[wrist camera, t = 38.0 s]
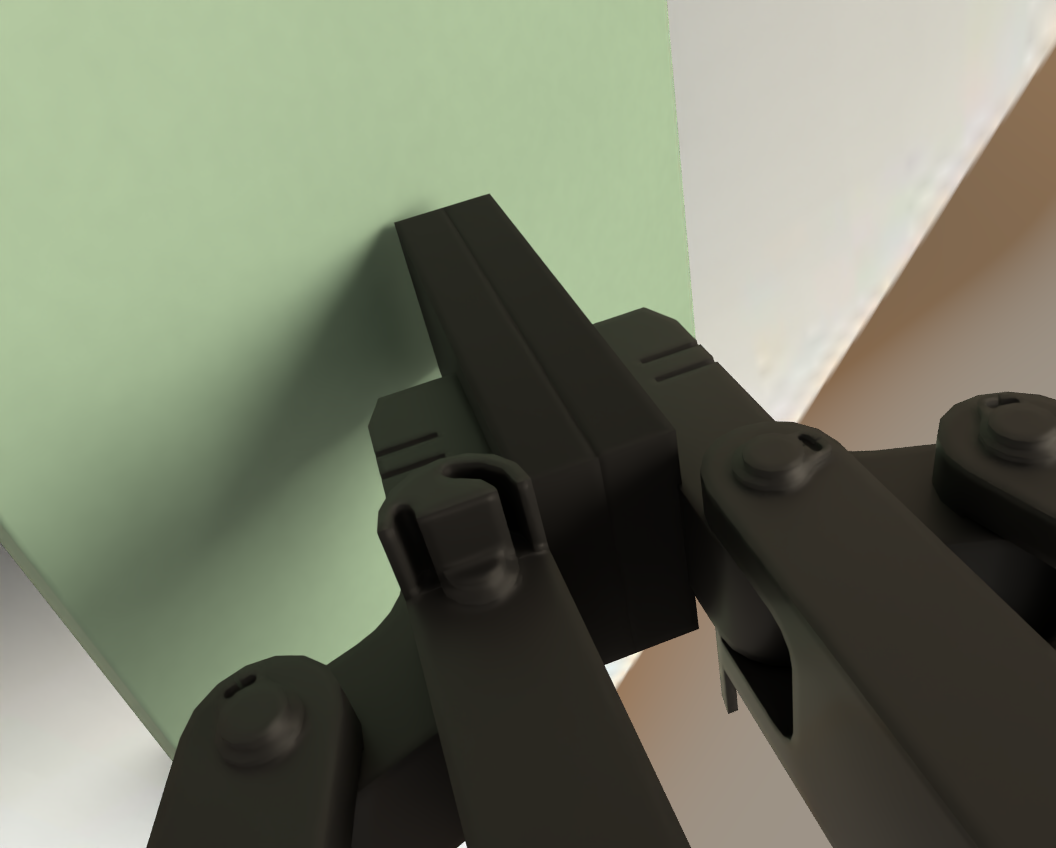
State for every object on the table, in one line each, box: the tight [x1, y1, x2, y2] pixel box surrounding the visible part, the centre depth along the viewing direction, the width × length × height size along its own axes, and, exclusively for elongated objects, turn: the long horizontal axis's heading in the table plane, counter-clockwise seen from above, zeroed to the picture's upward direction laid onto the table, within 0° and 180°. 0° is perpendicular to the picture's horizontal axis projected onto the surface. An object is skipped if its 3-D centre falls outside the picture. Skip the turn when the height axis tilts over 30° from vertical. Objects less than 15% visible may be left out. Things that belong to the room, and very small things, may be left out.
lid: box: [0, 0, 696, 761], centre depth 14 cm, size 15×19×1 cm
